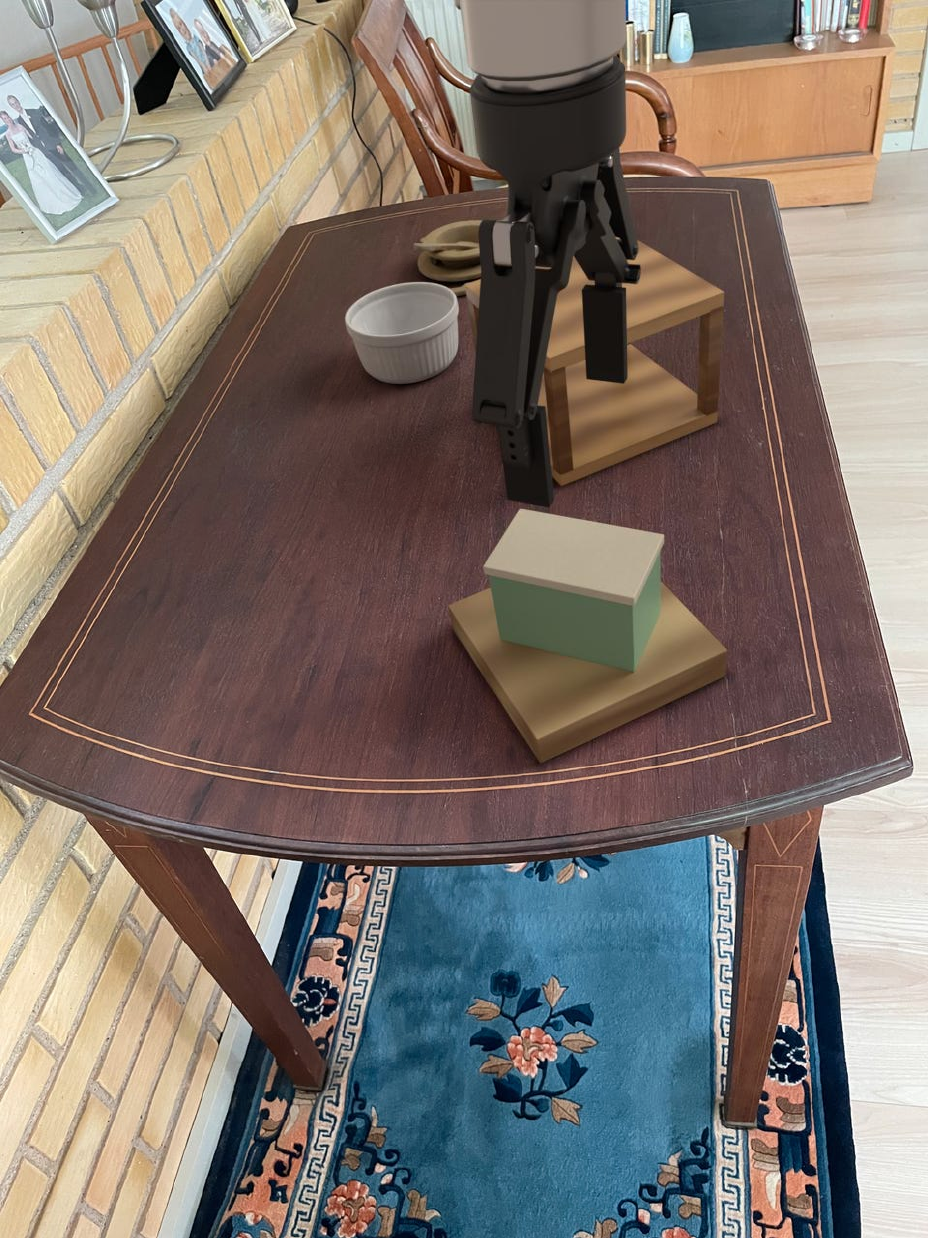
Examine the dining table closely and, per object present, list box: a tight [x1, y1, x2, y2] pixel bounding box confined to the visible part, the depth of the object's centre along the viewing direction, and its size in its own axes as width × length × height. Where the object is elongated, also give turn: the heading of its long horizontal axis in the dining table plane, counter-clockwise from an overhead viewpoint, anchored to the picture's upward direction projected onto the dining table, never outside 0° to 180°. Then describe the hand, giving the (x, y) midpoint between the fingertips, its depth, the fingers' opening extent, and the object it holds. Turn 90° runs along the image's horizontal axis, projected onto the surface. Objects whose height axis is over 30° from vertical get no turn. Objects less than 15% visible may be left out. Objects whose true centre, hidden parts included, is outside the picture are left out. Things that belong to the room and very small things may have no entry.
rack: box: [464, 237, 725, 487], centre depth 92 cm, size 18×18×14 cm
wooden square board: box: [447, 581, 728, 764], centre depth 73 cm, size 16×16×3 cm
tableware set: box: [412, 219, 483, 297], centre depth 125 cm, size 30×20×6 cm, turn 94°
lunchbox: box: [482, 508, 665, 672], centre depth 69 cm, size 11×7×8 cm, turn 64°
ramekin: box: [344, 281, 460, 385], centre depth 108 cm, size 13×13×7 cm
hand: (571, 435), depth 59 cm, fingers open, 13 cm apart
